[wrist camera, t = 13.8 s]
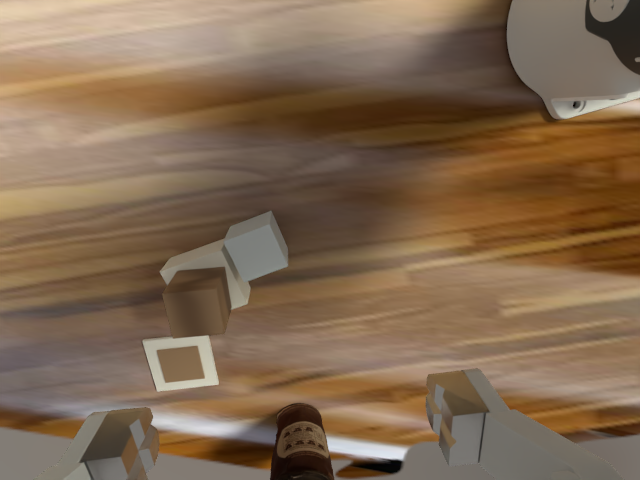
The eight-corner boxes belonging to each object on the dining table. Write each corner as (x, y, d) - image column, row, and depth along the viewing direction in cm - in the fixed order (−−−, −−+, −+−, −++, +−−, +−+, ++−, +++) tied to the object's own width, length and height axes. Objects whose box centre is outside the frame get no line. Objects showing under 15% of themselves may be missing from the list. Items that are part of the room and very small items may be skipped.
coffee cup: (270, 394, 50) (265, 487, 38) (330, 394, 51) (343, 486, 39) (268, 440, 53) (262, 541, 41) (324, 440, 54) (335, 538, 42)
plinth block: (227, 236, 42) (221, 250, 38) (250, 287, 44) (247, 304, 40) (170, 256, 42) (159, 271, 38) (197, 305, 44) (189, 324, 41)
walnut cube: (224, 266, 38) (216, 289, 34) (231, 307, 40) (224, 333, 36) (177, 270, 38) (161, 293, 34) (186, 311, 40) (172, 338, 35)
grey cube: (271, 210, 41) (269, 224, 36) (288, 248, 42) (288, 266, 38) (230, 225, 41) (223, 241, 36) (248, 263, 43) (244, 282, 38)
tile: (208, 332, 45) (207, 335, 45) (219, 382, 48) (218, 386, 48) (143, 339, 45) (141, 342, 44) (158, 389, 48) (156, 393, 47)
